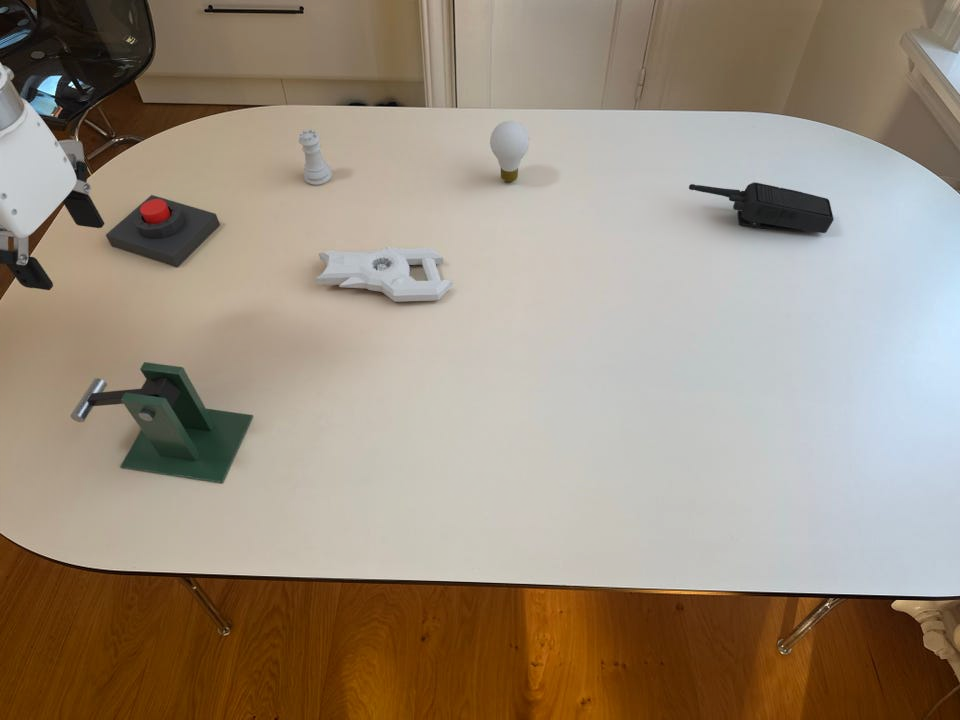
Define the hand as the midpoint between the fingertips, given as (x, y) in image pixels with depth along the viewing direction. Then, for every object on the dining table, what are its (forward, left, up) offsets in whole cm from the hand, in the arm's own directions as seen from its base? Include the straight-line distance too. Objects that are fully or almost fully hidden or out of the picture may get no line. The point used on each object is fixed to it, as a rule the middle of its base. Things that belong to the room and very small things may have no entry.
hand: (66, 254), depth 75 cm
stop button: (0, +25, -15) cm, 29 cm away
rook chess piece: (+22, +35, -18) cm, 46 cm away
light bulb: (+52, +30, -18) cm, 63 cm away
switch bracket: (+9, -14, -18) cm, 24 cm away
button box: (0, +24, -18) cm, 31 cm away
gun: (+32, +10, -18) cm, 38 cm away
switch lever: (+5, -12, -11) cm, 17 cm away
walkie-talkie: (+86, +15, -18) cm, 89 cm away
